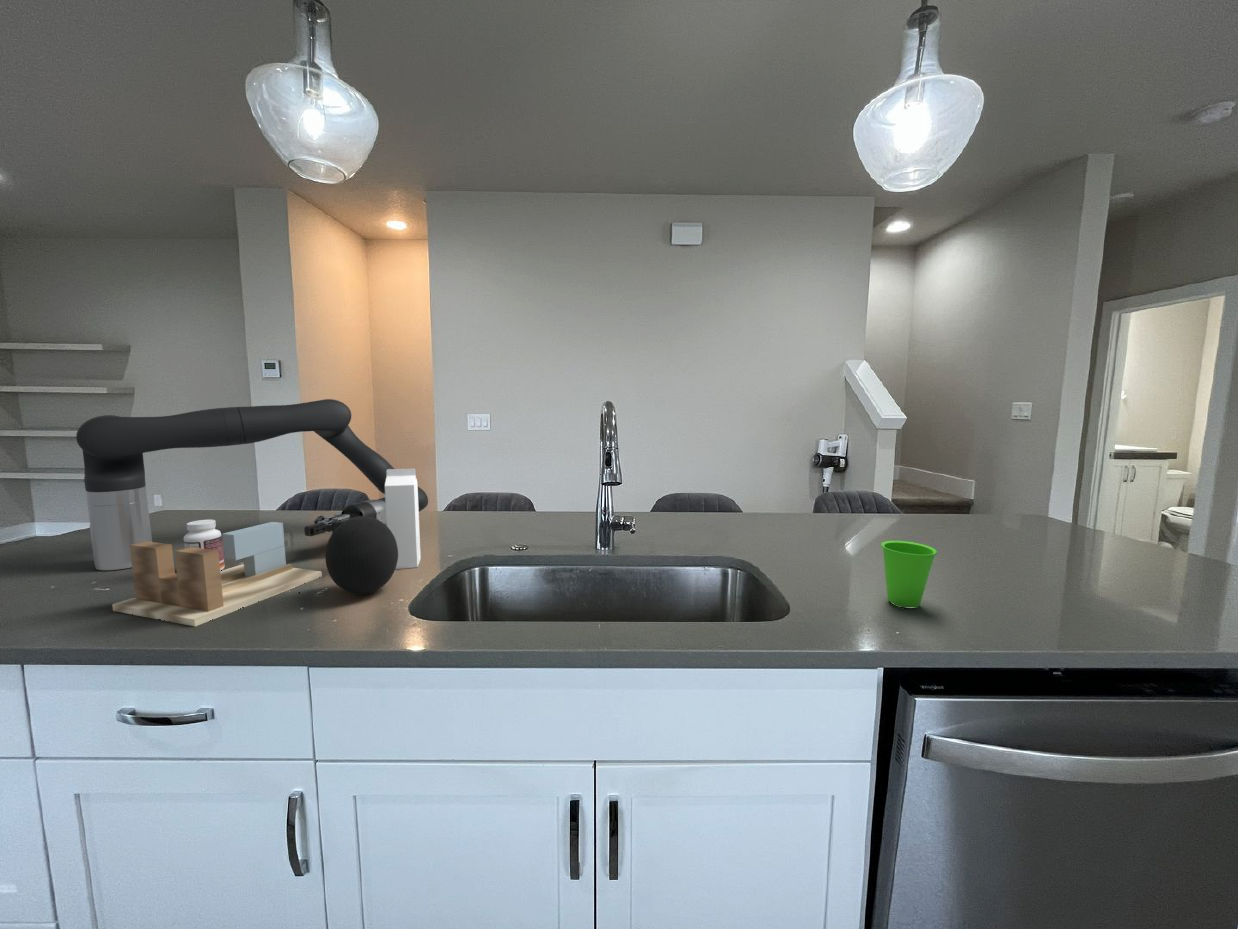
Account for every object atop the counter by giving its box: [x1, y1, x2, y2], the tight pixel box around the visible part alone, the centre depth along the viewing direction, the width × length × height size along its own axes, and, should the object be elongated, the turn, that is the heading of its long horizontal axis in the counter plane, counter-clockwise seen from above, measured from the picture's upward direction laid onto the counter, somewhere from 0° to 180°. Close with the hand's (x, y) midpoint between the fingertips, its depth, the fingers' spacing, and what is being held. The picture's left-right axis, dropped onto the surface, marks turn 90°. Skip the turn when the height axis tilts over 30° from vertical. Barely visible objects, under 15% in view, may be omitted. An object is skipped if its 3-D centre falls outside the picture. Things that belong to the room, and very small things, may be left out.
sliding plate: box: [221, 521, 287, 578], centre depth 98 cm, size 3×10×10 cm, turn 164°
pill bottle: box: [183, 519, 226, 571], centre depth 104 cm, size 6×6×11 cm
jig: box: [111, 541, 323, 627], centre depth 93 cm, size 20×24×11 cm
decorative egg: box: [324, 516, 398, 595], centre depth 93 cm, size 12×12×15 cm
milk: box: [384, 468, 422, 570], centre depth 109 cm, size 6×6×22 cm
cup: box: [880, 540, 938, 608], centre depth 91 cm, size 9×9×11 cm
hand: (307, 531), depth 110 cm, fingers closed
